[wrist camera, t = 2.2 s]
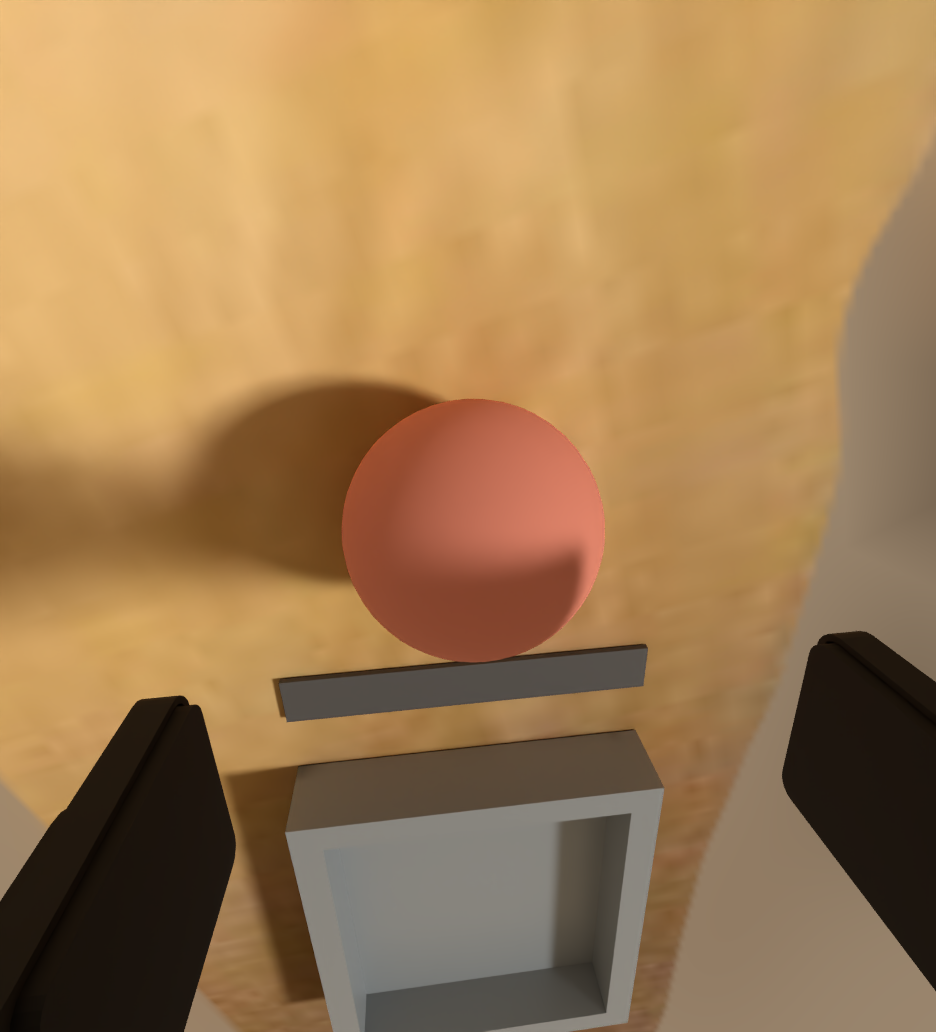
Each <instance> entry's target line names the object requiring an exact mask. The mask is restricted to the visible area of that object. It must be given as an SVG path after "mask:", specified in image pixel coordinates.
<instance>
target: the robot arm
mask: <svg viewBox="0 0 936 1032" xmlns="http://www.w3.org/2000/svg"><path fill="white" fill-rule="evenodd" d="M782 779H783V784H784V788H785V790H786V792H787V794H788V796H789V797H790V799H791V800H792V801H793V803H794V804H795V805H796V807H797V808H798V809H799V811H800V812H801V813H802V815H803V816H804V818H805V819H806V820H807V821H808V823H809V824H810V825H811V827H812V828H813V829H814V831H815V832H816V833H817V835H818V836H819V837H820V838H821V840H822V841H823V843H824V844H825V845H826V847H827V848H828V849H829V851H830V852H831V853H832V855H833V856H834V857H835V858H836V860H837V861H838V862H839V864H840V865H841V866H842V868H843V869H844V870H845V872H846V873H847V874H848V875H849V877H850V878H851V880H852V881H853V882H854V884H855V885H856V886H857V887H858V889H859V890H860V892H861V893H862V894H863V895H864V896H865V898H866V899H867V901H868V902H869V903H870V905H871V906H872V907H873V909H874V910H875V911H876V913H877V914H878V915H879V916H880V918H881V919H882V920H883V922H884V923H885V925H886V926H887V927H888V929H889V930H890V931H891V932H892V934H893V935H894V936H895V938H896V939H897V940H898V942H899V943H900V944H901V946H902V947H903V948H904V950H905V951H906V952H907V954H908V955H909V956H910V958H911V959H912V960H913V962H914V963H915V964H916V965H917V967H918V968H919V970H920V971H921V972H922V973H923V975H924V976H925V977H926V979H927V980H928V981H929V983H930V984H931V985H932V987H933V988H934V989H935V991H936V682H935V681H933V680H932V679H931V678H929V677H928V676H927V675H925V674H924V673H923V672H921V671H920V670H918V669H917V668H916V667H914V666H913V665H912V664H910V663H909V662H908V661H906V660H905V659H904V658H902V657H901V656H900V655H898V654H897V653H896V652H894V651H893V650H892V649H890V648H889V647H888V646H886V645H885V644H884V643H882V642H881V641H879V640H878V639H877V638H875V637H874V636H873V635H871V634H869V633H867V632H862V631H856V632H846V633H835V634H827V635H824V636H822V637H821V638H820V639H819V641H818V644H817V645H815V646H813V647H812V648H811V650H810V653H809V657H808V661H807V666H806V670H805V675H804V679H803V683H802V688H801V692H800V697H799V701H798V705H797V710H796V714H795V718H794V723H793V727H792V731H791V736H790V740H789V745H788V749H787V754H786V758H785V762H784V767H783V772H782ZM235 850H236V841H235V834H234V830H233V826H232V823H231V819H230V815H229V811H228V808H227V804H226V800H225V796H224V793H223V789H222V785H221V781H220V778H219V774H218V770H217V766H216V763H215V759H214V755H213V751H212V748H211V744H210V740H209V736H208V732H207V729H206V725H205V721H204V717H203V714H202V711H201V708H200V707H199V706H198V705H189V703H188V700H187V699H186V698H185V697H184V696H171V697H160V698H150V699H141V700H139V701H137V702H136V703H135V705H134V706H133V707H132V708H131V710H130V712H129V713H128V715H127V716H126V718H125V719H124V721H123V722H122V724H121V725H120V727H119V729H118V730H117V732H116V733H115V735H114V736H113V738H112V739H111V741H110V742H109V744H108V746H107V747H106V749H105V750H104V752H103V753H102V755H101V756H100V758H99V759H98V761H97V762H96V764H95V766H94V767H93V769H92V770H91V772H90V773H89V775H88V776H87V778H86V779H85V781H84V783H83V784H82V786H81V787H80V789H79V790H78V792H77V793H76V795H75V796H74V798H73V799H72V801H71V803H70V804H69V806H68V807H67V809H65V810H64V811H62V812H61V813H60V814H59V815H58V816H57V818H56V819H55V820H54V821H53V823H52V824H51V825H50V827H49V828H48V830H47V831H46V833H45V834H44V836H43V837H42V839H41V840H40V842H39V843H38V845H37V846H36V848H35V849H34V851H33V853H32V854H31V856H30V857H29V859H28V860H27V862H26V863H25V865H24V866H23V868H22V869H21V871H20V872H19V874H18V875H17V877H16V879H15V880H14V881H13V883H12V884H11V886H10V887H9V889H8V890H7V892H6V894H5V895H4V896H3V898H2V900H1V901H0V1032H184V1029H185V1026H186V1023H187V1019H188V1016H189V1012H190V1009H191V1006H192V1002H193V999H194V996H195V992H196V989H197V985H198V982H199V979H200V975H201V972H202V969H203V965H204V962H205V958H206V955H207V952H208V948H209V945H210V942H211V938H212V935H213V931H214V928H215V925H216V921H217V918H218V915H219V911H220V908H221V904H222V901H223V898H224V894H225V891H226V888H227V884H228V881H229V877H230V874H231V871H232V867H233V863H234V859H235Z"/></svg>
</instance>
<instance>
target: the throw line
mask: <svg viewBox="0 0 936 1032" xmlns="http://www.w3.org/2000/svg"><path fill="white" fill-rule="evenodd" d="M647 651H648V648H647V646H646V644H645V645H635V646H624V647H614V648H603V649H593V650H582V651H572V652H561V653H551V654H540V655H530V656H519V657H509V658H504V659H500V660H494V661H488V662H456V663H445V664H435V665H424V666H414V667H403V668H393V669H382V670H372V671H361V672H351V673H340V674H330V675H319V676H309V677H298V678H288V679H280V681H279V687H280V692H281V696H282V701H283V706H284V710H285V715H286V720H287V722H294V721H304V720H313V719H323V718H333V717H343V716H353V715H363V714H373V713H382V712H392V711H402V710H412V709H422V708H432V707H442V706H451V705H461V704H471V703H481V702H491V701H501V700H511V699H520V698H530V697H540V696H550V695H560V694H570V693H580V692H589V691H599V690H609V689H619V688H629V687H639V686H643V684H644V676H645V668H646V660H647Z"/></svg>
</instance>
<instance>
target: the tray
mask: <svg viewBox="0 0 936 1032" xmlns="http://www.w3.org/2000/svg"><path fill="white" fill-rule="evenodd" d="M663 793H664V786H663V784H662V782H661V780H660V778H659V776H658V774H657V772H656V770H655V768H654V766H653V764H652V762H651V760H650V758H649V756H648V754H647V752H646V750H645V748H644V746H643V744H642V742H641V740H640V738H639V736H638V734H637V732H636V730H630V731H621V732H612V733H602V734H593V735H584V736H575V737H565V738H556V739H547V740H538V741H528V742H519V743H510V744H501V745H491V746H482V747H473V748H464V749H454V750H445V751H436V752H427V753H417V754H408V755H399V756H390V757H380V758H371V759H362V760H353V761H343V762H334V763H325V764H316V765H306V766H298V771H297V776H296V781H295V786H294V791H293V796H292V801H291V806H290V811H289V816H288V821H287V826H286V831H285V834H286V838H287V842H288V847H289V851H290V855H291V859H292V863H293V867H294V871H295V875H296V880H297V884H298V888H299V892H300V896H301V900H302V904H303V909H304V913H305V917H306V921H307V925H308V929H309V933H310V937H311V942H312V946H313V950H314V954H315V958H316V962H317V966H318V971H319V975H320V979H321V983H322V987H323V991H324V995H325V999H326V1004H327V1008H328V1012H329V1016H330V1020H331V1024H332V1028H333V1032H569V1031H576V1030H582V1029H589V1028H595V1027H602V1026H608V1025H615V1024H622V1023H628V1017H629V1010H630V1004H631V997H632V991H633V985H634V978H635V972H636V966H637V959H638V953H639V946H640V940H641V934H642V927H643V921H644V914H645V908H646V902H647V895H648V889H649V882H650V876H651V870H652V863H653V857H654V850H655V844H656V838H657V831H658V825H659V818H660V812H661V806H662V799H663Z"/></svg>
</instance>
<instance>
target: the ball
mask: <svg viewBox="0 0 936 1032" xmlns="http://www.w3.org/2000/svg"><path fill="white" fill-rule="evenodd" d="M604 543H605V518H604V511H603V504H602V501H601V498H600V494H599V491H598V487H597V484H596V481H595V479H594V477H593V475H592V473H591V470H590V468H589V467H588V465H587V464H586V462H585V461H584V459H583V458H582V456H581V455H580V453H579V452H578V450H577V449H576V447H575V446H574V445H573V444H572V443H571V442H570V441H569V440H568V438H567V437H566V436H565V435H563V434H562V433H561V432H560V431H559V430H557V429H556V428H555V427H554V426H553V425H551V424H550V423H549V422H547V421H545V420H544V419H542V418H541V417H539V416H537V415H536V414H534V413H532V412H530V411H527V410H525V409H523V408H520V407H518V406H514V405H511V404H507V403H504V402H499V401H492V400H485V399H461V400H453V401H447V402H443V403H439V404H435V405H432V406H429V407H427V408H424V409H422V410H419V411H417V412H415V413H413V414H411V415H410V416H408V417H406V418H404V419H403V420H401V421H400V422H398V423H397V424H396V425H394V426H393V427H392V428H390V429H389V430H388V431H387V432H386V433H385V434H383V435H382V436H381V437H380V438H379V439H378V440H377V441H376V442H375V443H374V445H373V446H372V447H371V448H370V450H369V451H368V452H367V454H366V455H365V456H364V458H363V459H362V461H361V463H360V465H359V466H358V468H357V470H356V472H355V474H354V476H353V479H352V481H351V484H350V486H349V489H348V492H347V495H346V499H345V504H344V508H343V519H342V546H343V552H344V556H345V561H346V565H347V569H348V572H349V575H350V578H351V580H352V583H353V585H354V587H355V589H356V591H357V593H358V594H359V596H360V598H361V600H362V601H363V603H364V605H365V606H366V607H367V609H368V610H369V611H370V613H371V614H372V615H373V617H374V618H375V619H376V620H377V621H378V622H379V623H380V624H381V625H382V626H383V627H384V628H386V629H387V630H388V631H389V632H390V633H391V634H393V635H394V636H395V637H397V638H398V639H399V640H401V641H402V642H404V643H406V644H407V645H409V646H411V647H413V648H415V649H417V650H420V651H422V652H424V653H427V654H429V655H432V656H435V657H439V658H442V659H447V660H452V661H458V662H488V661H494V660H500V659H504V658H508V657H512V656H515V655H518V654H520V653H523V652H526V651H528V650H530V649H532V648H534V647H536V646H538V645H540V644H541V643H543V642H544V641H546V640H547V639H549V638H550V637H552V636H553V635H554V634H555V633H557V632H558V631H559V630H560V629H562V627H563V626H564V625H565V624H566V623H567V622H568V621H569V620H570V619H571V618H572V617H573V616H574V615H575V613H576V612H577V611H578V609H579V608H580V607H581V606H582V604H583V603H584V601H585V599H586V598H587V596H588V594H589V593H590V591H591V589H592V586H593V584H594V582H595V580H596V577H597V574H598V571H599V567H600V564H601V560H602V557H603V550H604Z"/></svg>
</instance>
